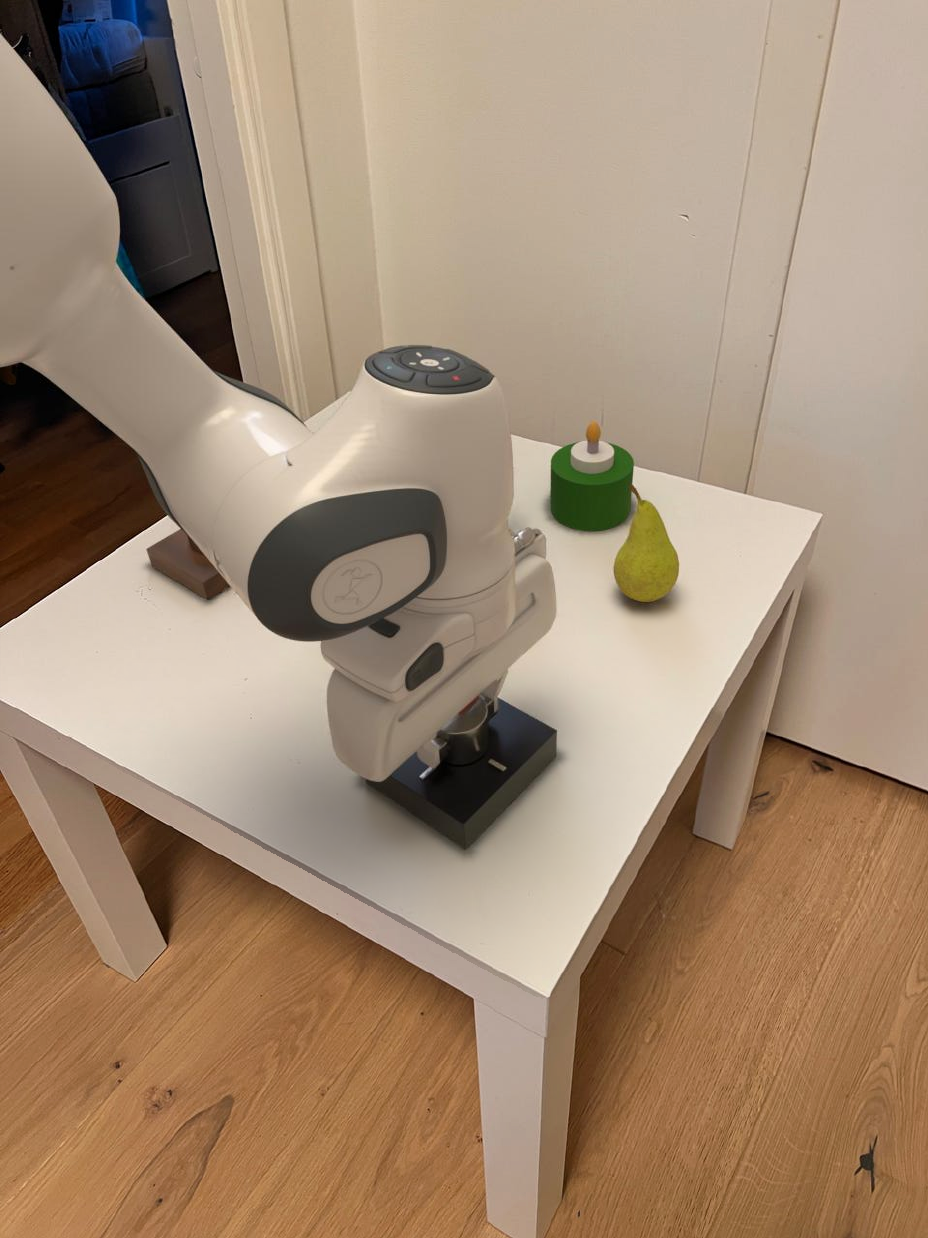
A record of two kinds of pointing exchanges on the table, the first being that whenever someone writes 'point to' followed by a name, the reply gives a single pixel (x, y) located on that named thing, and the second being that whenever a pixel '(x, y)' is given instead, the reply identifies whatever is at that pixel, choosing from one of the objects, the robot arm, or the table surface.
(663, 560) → the fruit
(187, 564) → the lamp switch
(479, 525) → the robot arm
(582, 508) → the candle
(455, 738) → the dimmer knob
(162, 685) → the table surface
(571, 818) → the table surface
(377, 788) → the dimmer panel
